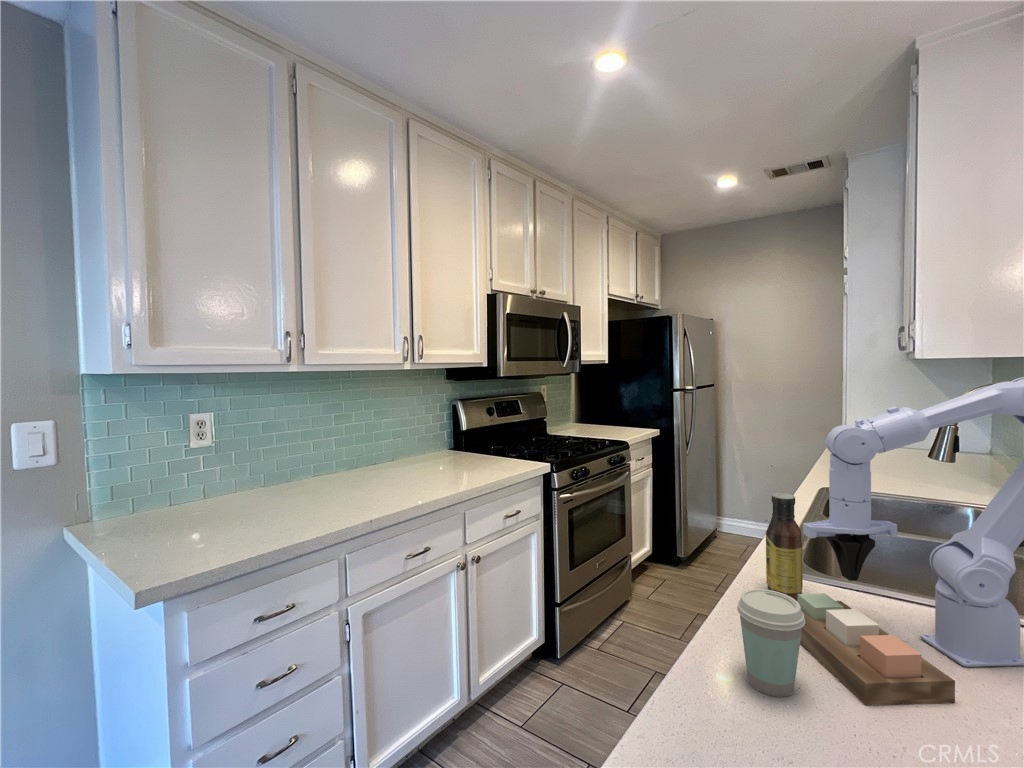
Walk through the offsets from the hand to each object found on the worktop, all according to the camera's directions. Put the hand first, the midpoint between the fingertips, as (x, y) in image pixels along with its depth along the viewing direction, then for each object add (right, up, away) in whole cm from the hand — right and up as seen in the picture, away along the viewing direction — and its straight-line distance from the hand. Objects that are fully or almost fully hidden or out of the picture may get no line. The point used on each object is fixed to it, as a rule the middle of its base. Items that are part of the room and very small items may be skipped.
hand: (849, 578), depth 81 cm
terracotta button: (-4, -8, -13) cm, 16 cm away
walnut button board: (-4, -10, -6) cm, 12 cm away
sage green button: (-4, -8, +2) cm, 9 cm away
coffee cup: (-20, -11, -12) cm, 25 cm away
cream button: (-4, -8, -6) cm, 10 cm away
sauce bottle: (-3, -9, +14) cm, 17 cm away
